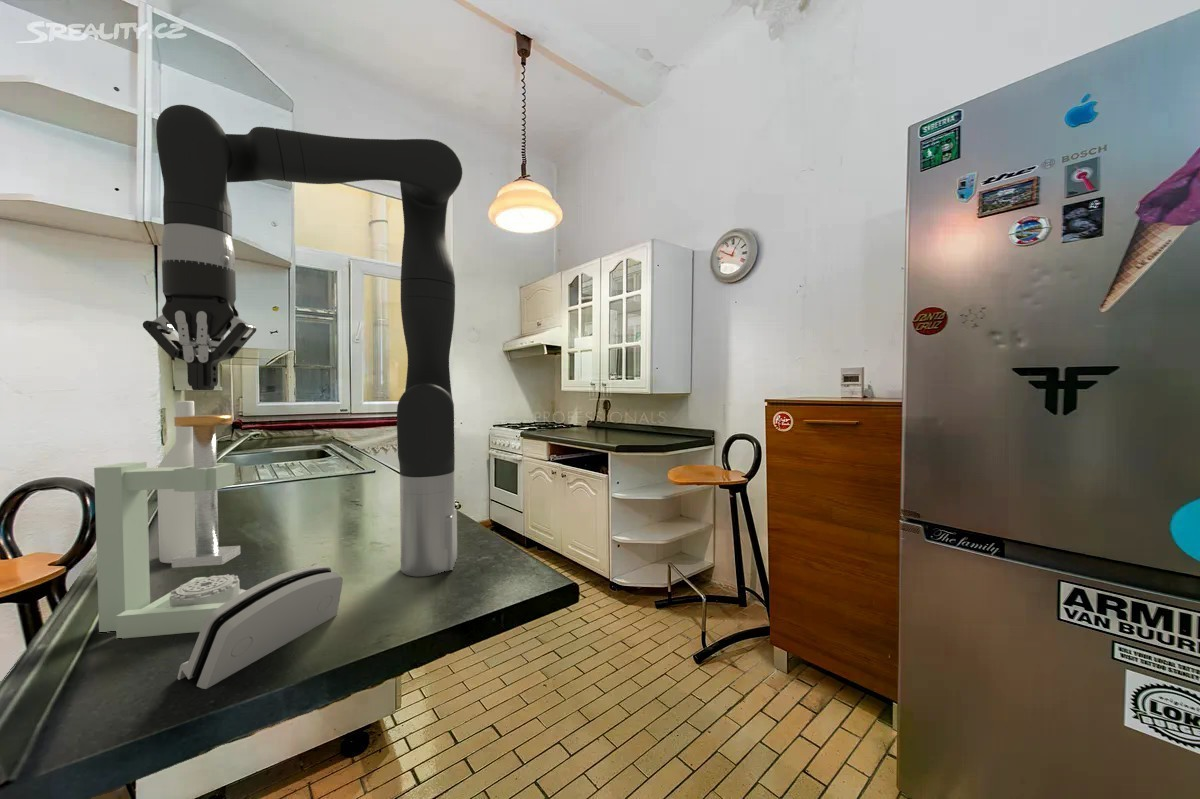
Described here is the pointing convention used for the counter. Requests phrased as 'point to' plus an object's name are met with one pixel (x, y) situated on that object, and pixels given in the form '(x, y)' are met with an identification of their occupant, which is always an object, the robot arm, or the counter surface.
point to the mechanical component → (206, 591)
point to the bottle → (177, 496)
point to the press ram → (205, 496)
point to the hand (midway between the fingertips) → (203, 390)
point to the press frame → (141, 547)
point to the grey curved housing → (262, 622)
